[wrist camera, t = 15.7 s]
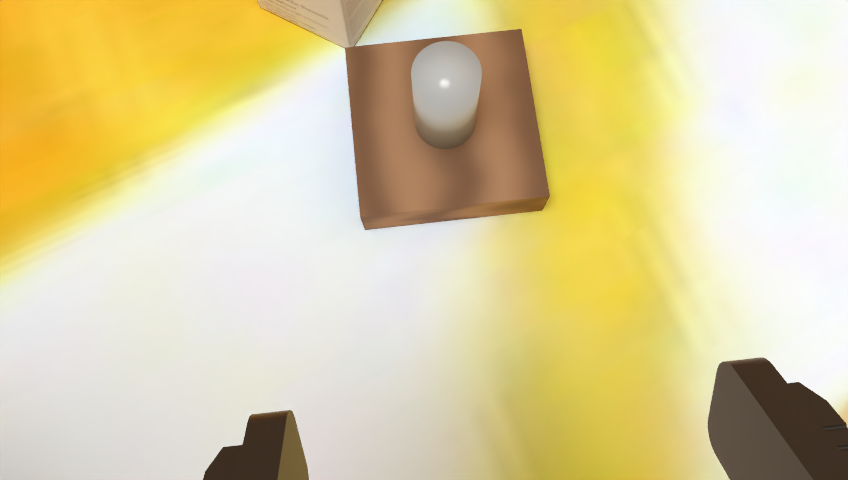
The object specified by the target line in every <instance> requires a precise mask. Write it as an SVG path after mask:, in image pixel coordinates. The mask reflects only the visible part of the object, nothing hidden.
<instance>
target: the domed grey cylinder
mask: <svg viewBox="0 0 848 480" xmlns="http://www.w3.org/2000/svg"><path fill="white" fill-rule="evenodd" d="M481 78H482V68H481V64H480V61H479V59H478V58H477V56H476V55H475V53H474V52H473V51H472V50H470V49H469V48H468V47H466V46H465V45H462V44H460V43H457V42H453V41H441V42H436V43H433V44H431V45H429V46H427V47H425V48H424V49H423V50H422V51H420V52H419V54H418V55H417V56H416V58H415V60H414V62H413V64H412V69H411V79H412V93H413V106H414V119H415V127H416V130H417V133H418V135H419V136H420V137H421V139H422V140H423V141H424V142H426V143H427V144H429V145H430V146H432V147H435V148H439V149H450V148H455V147H457V146H460V145H461V144H463V143H464V142H466V141H467V140H468V139H469V137H470V136H471V134H472V132H473V130H474V127H475V121H476V114H477V107H478V100H479V92H480V85H481Z"/></svg>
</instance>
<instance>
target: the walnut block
mask: <svg viewBox="0 0 848 480" xmlns="http://www.w3.org/2000/svg"><path fill="white" fill-rule="evenodd" d="M441 41H453V42H457V43H460V44H462V45H465V46H466V47H468V48H469V49H470V50H472V51H473V52H474V53H475V55H476V56H477V58H478V59H479V61H480V64H481V68H482V78H481V85H480V92H479V100H478V107H477V114H476V121H475V127H474V130H473V132H472V134H471V136H470V137H469V139H468V140H467V141H466V142H464V143H463V144H461V145H460V146H457V147H455V148H450V149H439V148H435V147H432V146H430V145H429V144H427V143H426V142H424V141H423V140H422V139H421V137H420V136H419V135H418V133H417V130H416V127H415V119H414V106H413V93H412V79H411V69H412V64H413V62H414V60H415V58H416V56H417V55H418V54H419V52H420V51H422V50H423V49H424V48H425V47H427V46H429V45H431V44H433V43H436V42H441ZM345 52H346V63H347V74H348V85H349V96H350V107H351V118H352V130H353V141H354V152H355V163H356V174H357V185H358V196H359V207H360V217H361V220H362V223H363V225H364V228H365V230H368V229H377V228H386V227H395V226H404V225H413V224H422V223H431V222H440V221H449V220H458V219H467V218H476V217H486V216H495V215H504V214H513V213H522V212H531V211H540V210H542V209H543V207H544V206H545V204H546V202H547V200H548V198H549V196H550V195H549V189H548V183H547V178H546V172H545V166H544V160H543V154H542V148H541V142H540V136H539V130H538V124H537V118H536V112H535V107H534V101H533V95H532V89H531V83H530V77H529V71H528V65H527V59H526V53H525V47H524V42H523V36H522V30H521V29H517V30H507V31H498V32H488V33H479V34H469V35H460V36H451V37H441V38H432V39H422V40H413V41H403V42H394V43H384V44H375V45H365V46H356V47H346V48H345Z"/></svg>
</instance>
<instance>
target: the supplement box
mask: <svg viewBox="0 0 848 480" xmlns="http://www.w3.org/2000/svg"><path fill="white" fill-rule="evenodd" d="M257 1H258V3H259V6H260V7H261V8H263V9H265V10H267V11H269V12H271V13H273V14H276V15H278V16H280V17H282V18H284V19H286V20H288V21H290V22H292V23H294V24H296V25H298V26H300V27H302V28H304V29H306V30H308V31H311V32H313V33H315V34H317V35H319V36H321V37H323V38H325V39H327V40H329V41H331V42H333V43H335V44H337V45H339V46H342V47H344V48H346V47H354V45H355V44H356V42H357V41H358V39H359V37H360V36H361V34H362V33H363V31H364V29H365V28H366V26H367V25H368V23H369V21H370V20H371V18H372V16H373V15H374V13H375V12H376V10H377V8H378V7H379V5H380V4H381V2H382V0H257Z"/></svg>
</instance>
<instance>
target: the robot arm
mask: <svg viewBox="0 0 848 480" xmlns="http://www.w3.org/2000/svg"><path fill="white" fill-rule="evenodd" d="M708 432H709V437H710V441H711V445H712V447H713V450H714V452H715V454H716V456H717V458H718V459H719V461H720V463H721V465H722V466H723V468H724V470H725V471H726V473H727V475H728V477H729V478H730V480H848V428H847V426H846V423H845V422H844V421H843V419H842V418H841V417H840V416H839V415H838V413H837V412H836V411H835V410H834V409H833V408H832V406H831V405H830V404H829V403H828V402H827V401H826V400H825V399H823V398H822V397H820V396H819V395H817V394H816V393H814V392H813V391H811V390H810V389H808V388H807V387H805V386H804V385H802V384H801V383H799V382H796V383H788V384H787V382H786V381H785V380H784V379H783V377H782V376H781V375H780V374H779V372H778V371H777V370H776V369H775V367H774V366H773V365H772V364H771V363H770V361H768V360H767V359H765V358H753V359H744V360H736V361H727V362H722V363H720V365H719V366H718V369H717V373H716V379H715V384H714V390H713V395H712V401H711V406H710V412H709V417H708ZM203 480H309V477H308V469H307V464H306V460H305V456H304V452H303V448H302V444H301V441H300V437H299V433H298V429H297V425H296V421H295V417H294V414H293V412H292V411H291V410H288V411H279V412H271V413H262V414H253V415H251V416H250V417H249V420H248V423H247V428H246V432H245V437H244V441H243V445H238V446H230V447H223V448H222V449H221V451H220V452H219V453H218V455H217V456H216V458H215V459H214V460H213V462H212V463H211V464H210V466H209V467H208V469H207V470H206V471H205V475H204V478H203Z"/></svg>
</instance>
